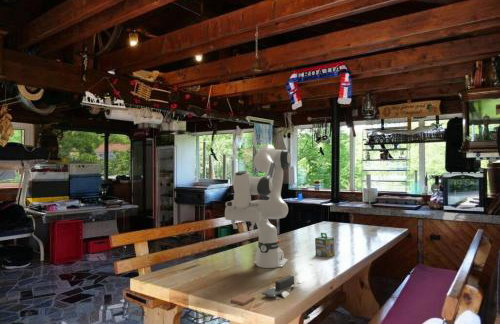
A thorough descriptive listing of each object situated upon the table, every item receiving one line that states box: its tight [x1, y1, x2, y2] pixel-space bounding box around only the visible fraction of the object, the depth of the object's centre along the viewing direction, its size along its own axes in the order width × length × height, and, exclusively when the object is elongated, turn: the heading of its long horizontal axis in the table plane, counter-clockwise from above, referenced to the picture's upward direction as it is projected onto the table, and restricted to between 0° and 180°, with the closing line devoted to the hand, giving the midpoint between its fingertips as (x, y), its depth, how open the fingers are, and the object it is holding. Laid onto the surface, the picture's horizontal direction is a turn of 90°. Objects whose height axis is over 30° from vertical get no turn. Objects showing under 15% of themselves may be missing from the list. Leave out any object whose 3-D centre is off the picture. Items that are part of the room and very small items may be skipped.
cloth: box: [269, 284, 295, 300], centre depth 168 cm, size 26×14×2 cm, turn 148°
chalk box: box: [314, 232, 336, 258], centre depth 232 cm, size 9×9×15 cm
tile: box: [230, 293, 255, 306], centre depth 156 cm, size 2×7×8 cm
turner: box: [261, 274, 295, 298], centre depth 165 cm, size 20×6×4 cm, turn 140°
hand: (243, 229), depth 182 cm, fingers open, 8 cm apart
